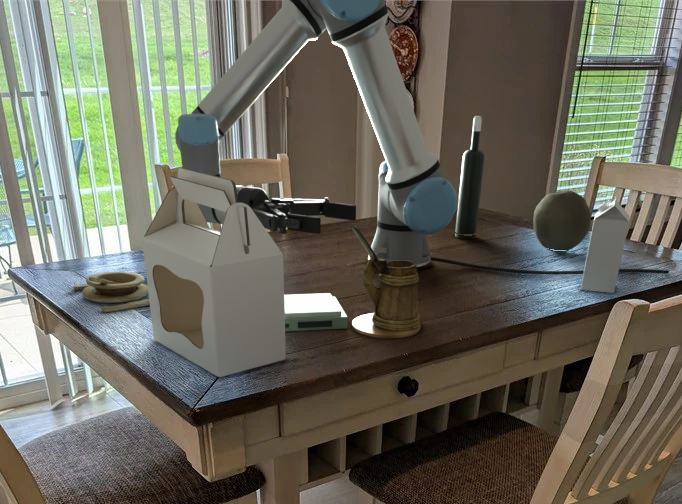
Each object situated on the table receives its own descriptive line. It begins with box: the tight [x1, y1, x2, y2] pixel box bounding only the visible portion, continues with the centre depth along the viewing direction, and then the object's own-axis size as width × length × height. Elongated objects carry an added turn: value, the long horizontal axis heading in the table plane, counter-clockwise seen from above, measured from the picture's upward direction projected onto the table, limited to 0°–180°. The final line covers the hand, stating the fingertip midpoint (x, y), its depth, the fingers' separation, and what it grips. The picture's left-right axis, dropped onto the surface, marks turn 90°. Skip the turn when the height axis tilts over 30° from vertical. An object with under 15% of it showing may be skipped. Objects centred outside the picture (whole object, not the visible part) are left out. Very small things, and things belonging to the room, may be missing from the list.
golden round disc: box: [351, 312, 422, 339], centre depth 137 cm, size 13×13×1 cm
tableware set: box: [73, 271, 150, 313], centre depth 153 cm, size 30×20×6 cm, turn 125°
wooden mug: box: [351, 224, 421, 331], centre depth 132 cm, size 9×14×18 cm, turn 100°
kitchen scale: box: [284, 292, 349, 332], centre depth 139 cm, size 14×13×3 cm
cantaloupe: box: [532, 190, 591, 253], centre depth 186 cm, size 14×14×15 cm
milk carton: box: [580, 194, 631, 294], centre depth 158 cm, size 7×7×19 cm
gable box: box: [141, 167, 287, 379], centre depth 118 cm, size 22×13×28 cm, turn 40°
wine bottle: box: [454, 115, 486, 240], centre depth 195 cm, size 6×6×30 cm
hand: (338, 219), depth 134 cm, fingers open, 13 cm apart
